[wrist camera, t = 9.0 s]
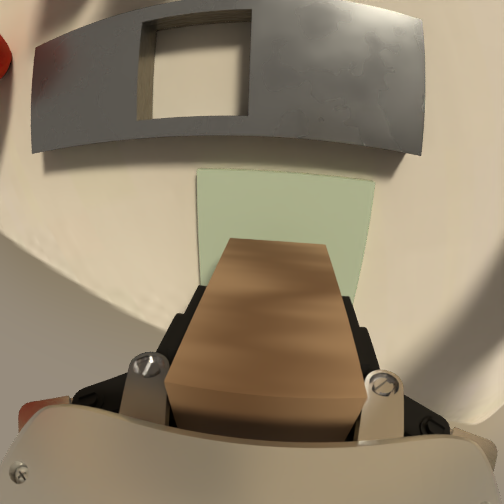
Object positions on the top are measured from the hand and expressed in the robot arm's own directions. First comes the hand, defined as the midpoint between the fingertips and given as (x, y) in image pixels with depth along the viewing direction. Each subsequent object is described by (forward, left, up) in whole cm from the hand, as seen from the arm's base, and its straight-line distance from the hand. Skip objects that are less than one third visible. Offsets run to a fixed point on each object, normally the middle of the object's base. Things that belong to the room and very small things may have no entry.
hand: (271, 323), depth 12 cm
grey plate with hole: (+5, -11, -7) cm, 14 cm away
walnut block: (0, 0, -3) cm, 3 cm away
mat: (0, 0, -7) cm, 7 cm away
